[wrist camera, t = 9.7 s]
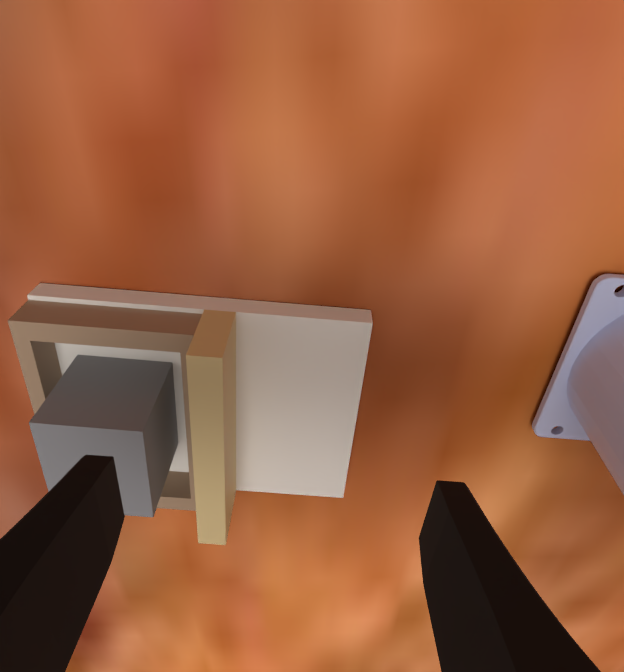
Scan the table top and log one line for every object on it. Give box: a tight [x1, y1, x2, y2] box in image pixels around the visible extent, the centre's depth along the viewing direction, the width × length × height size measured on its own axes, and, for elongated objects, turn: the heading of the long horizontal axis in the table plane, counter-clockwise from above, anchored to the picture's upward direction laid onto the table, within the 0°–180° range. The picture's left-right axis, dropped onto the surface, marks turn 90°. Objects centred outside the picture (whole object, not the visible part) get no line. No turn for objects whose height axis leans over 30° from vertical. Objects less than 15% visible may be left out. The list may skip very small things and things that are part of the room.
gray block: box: [29, 355, 178, 517], centre depth 20 cm, size 4×4×4 cm
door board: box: [8, 283, 373, 545], centre depth 21 cm, size 13×10×4 cm
